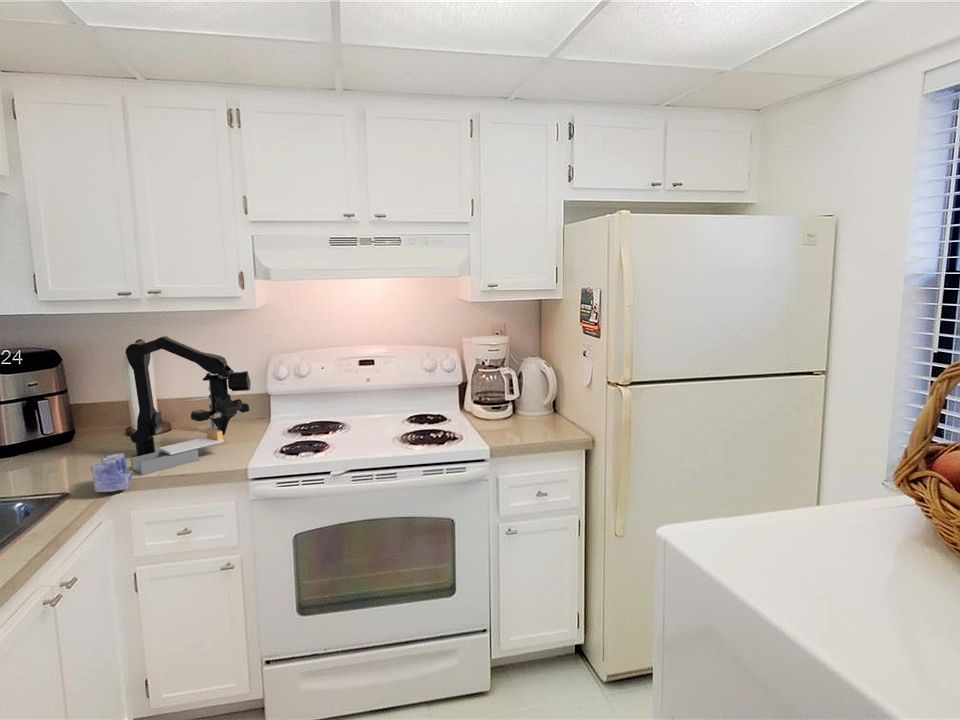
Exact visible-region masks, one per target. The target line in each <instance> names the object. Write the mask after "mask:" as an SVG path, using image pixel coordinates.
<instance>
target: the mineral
mask: <svg viewBox="0 0 960 720" xmlns="http://www.w3.org/2000/svg"><path fill="white" fill-rule="evenodd" d="M125 455H126V454H125V453H123V452H122V453H114V454H110V455H109V454H108V455H105V456H104V458H102V459H101V460H100V461H99V462H97V464H93V465H91V466H90V471H91V476H92V480H93V486H94V487H93V488H94V489H93V490H94V491H95V492H96V493H108V492H117V491H122V490H126V489H128V488H129V486H130V481H131V479H132V478H133V476H132V470H130V471H129V470H128V467H127V465H128V463H127V458H126V456H125Z"/></svg>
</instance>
